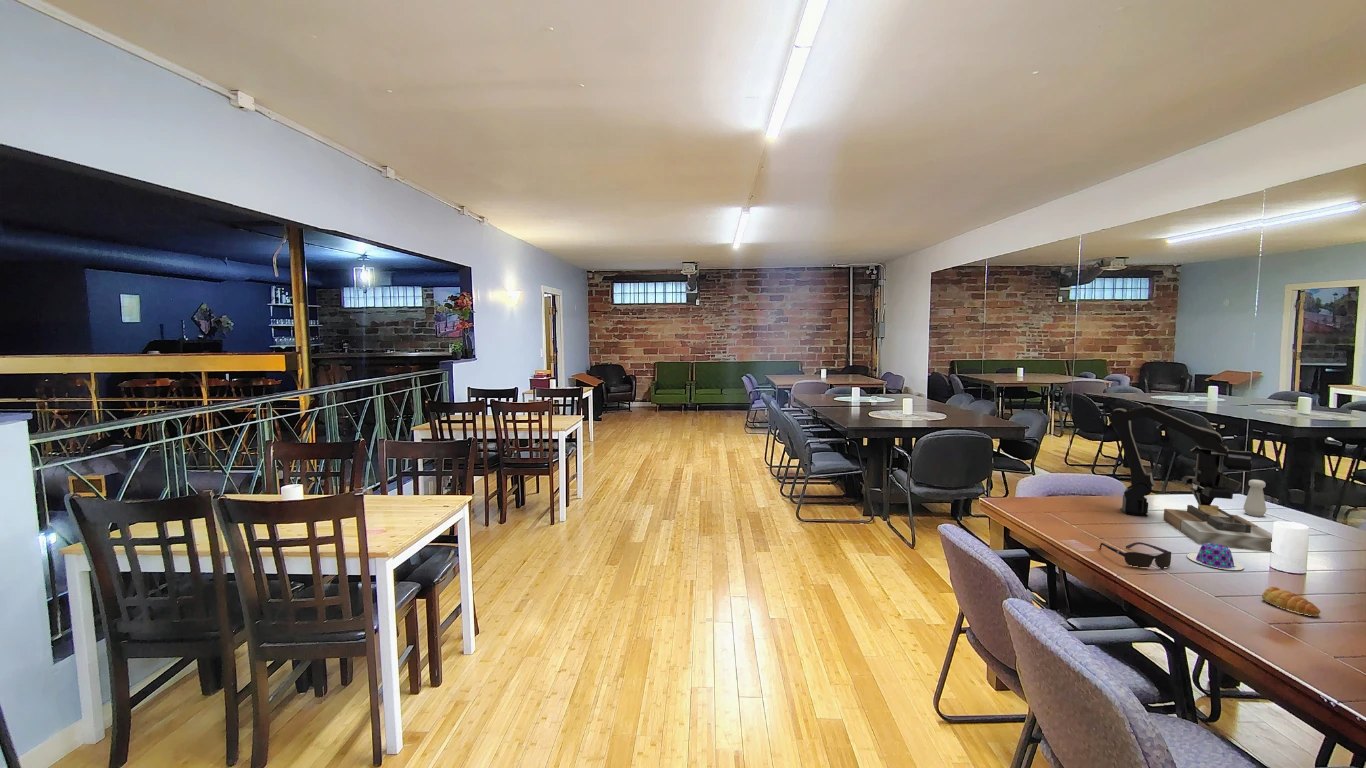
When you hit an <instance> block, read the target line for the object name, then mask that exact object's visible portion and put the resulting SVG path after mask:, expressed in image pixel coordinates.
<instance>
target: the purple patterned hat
mask: <svg viewBox="0 0 1366 768" xmlns="http://www.w3.org/2000/svg"><path fill="white" fill-rule="evenodd" d="M1232 554H1233V553H1232V551H1231V549H1230V547H1226V546H1222V545H1219V544H1213V543H1204V544H1201V546H1200V548H1199V550H1198V552H1190V553H1189V552H1188V553H1187V554H1186V557H1187V558H1188V559H1190V561H1193V562H1195V563H1197V564H1200V565H1204V566H1206V567H1211V568H1216V569H1220V570H1227V571H1240V570H1244V569H1245V565H1244V564H1242V563H1240V562H1238V561H1237V560H1235V559H1234V558H1233V555H1232ZM1196 560H1197V561H1196ZM1199 561H1200V562H1199ZM1234 564H1235V565H1236V566H1237V567H1236V568H1235V566H1234ZM1210 565H1211V566H1210ZM1218 567H1219V568H1218ZM1228 568H1229V569H1228ZM1230 568H1231V569H1230ZM1233 568H1235V569H1233Z"/></svg>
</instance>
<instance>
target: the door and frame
mask: <svg viewBox="0 0 1366 768" xmlns="http://www.w3.org/2000/svg"><path fill="white" fill-rule="evenodd" d="M1219 512H1221V513H1223V514H1225V515H1227V516H1228V517H1230V523H1229V522H1221V521H1219V520H1217V519H1216V518H1214V517H1211V516H1208V519H1207V514H1206V513H1205V512H1203V511H1201V510H1199V509H1198V507H1195V506H1194V505H1192V504H1187V508H1186V510H1183V509H1182V510H1181V509H1170V508H1164V511H1163V521H1165V522H1167V523H1168V524H1169V525H1171V526H1172V527H1173V528H1175V529H1176V530H1178V531H1180V532H1181V533H1183V534H1184V535H1185V536H1187V537H1189V538H1190V539H1191V540H1192V541H1194V542H1196V543H1197V544H1199V545H1202V544H1204V543H1213V544H1219V545H1222V546H1226V547H1227V548H1233V547H1234V548H1233V549H1235V548H1237V549H1243V548H1245V550H1246V549H1247V550H1252V551H1253V550H1256V551H1261V552H1262V551H1265V552H1271V551H1270V550H1271V542H1272V534H1273V533H1272V532H1270V531H1268V530H1267V529H1265V528H1262V527H1261V526H1258V525H1257V524H1255V523H1253V522H1250V521H1249V520H1247V519H1245V518H1244V517H1242V516H1239V515H1238V514H1230V513H1228V512H1226V511H1225V510H1224V509H1223V510H1222V509H1221V508H1219Z"/></svg>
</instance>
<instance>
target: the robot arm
mask: <svg viewBox="0 0 1366 768" xmlns="http://www.w3.org/2000/svg"><path fill="white" fill-rule="evenodd" d="M1143 418H1147V419H1150V420H1152V421H1155V422H1156V423H1159V424H1161V425H1163V426H1165V427H1167V428H1170V429H1172V430H1175V431H1177V432H1179V433H1181V434H1183V435H1184V436H1186V437H1188V438H1189V439H1191V440H1192V442H1193V441H1194V442H1195V443H1196V444H1198V445H1199V446H1198V445H1196V446H1194V447H1193V448H1192V449H1190V451H1189V452H1190V453H1191V454H1196V464H1195V465H1196V466H1195V467H1193V468H1192V469H1193V472H1195V476H1194V475H1193V476H1192V475H1184V476H1183V477H1181V484H1183V485H1185V486H1188V485H1192V487H1190V488H1189V490H1190V491H1191V493H1192V495H1193V496H1194V498H1195V500H1196V502H1197V505H1198V504H1205V505H1212V502H1213V501H1214V499H1224V500H1225V499H1227V500H1232V499H1234V493H1233V492H1232V491H1231V490H1233V491H1235V492H1238V490H1239V489H1240V487H1241V485H1242V482H1240V481H1237V480H1235V479H1232V478H1231V475H1229V474H1227V473H1224V472H1222V471H1220V465H1221V457H1222V467H1225V468H1226V470H1229V471H1237V472H1244V473H1245V472H1246V473H1252V472H1251V471H1252V465H1253V464H1252V463H1253V462H1252V451H1248V450H1247V451H1246V450H1232V449H1229V448H1228V446H1226V445H1225V444H1224V442H1223V440H1222V439H1223V438H1222V436H1221V434H1220V433H1219V432H1217V431H1215V430H1213V429H1209V428H1206V427H1203V426H1197V425H1194V424H1191V423H1188V422H1187V421H1184V420H1183V419H1180V418H1177V417H1175V416H1174V415H1170V414H1169V413H1166V412H1165V411H1162V410H1160V409H1157V408H1155V407H1154V405H1149V404H1148V405H1144V406H1140V407H1139V406H1138V407H1134V408H1128V409H1126V408H1122V407H1121V408H1120V407H1119V408H1115V409H1113V410H1112V411H1111V412H1110V413H1109V415H1108V421H1109V422H1110V424H1111V426H1112V427H1113V429H1114V430H1115V432H1116V433H1117V435H1118V437H1119V440H1120V444H1121V447H1122V449H1123V453H1124V455H1125V458H1126V461H1127V464H1128V467H1129V468H1128V469H1129V470H1130V484H1131V485H1129V486H1127V487H1126V488H1125V489H1124V491H1123V495H1122V503H1121V504H1122V505H1121V507H1120V508H1119V511H1121V512H1123V513H1124V514H1125V515H1129V516H1141V517H1149V514H1148V513H1149V511H1148V510H1149V502H1148V499H1147V498H1146V497H1145V496H1149V495H1150V494H1151V493H1152V491H1153V490H1154V487H1155V484H1156V481H1155V480H1154V478H1153V472H1151V471H1149V472H1147V471H1146V469H1145V468H1144V466H1143V462H1142V459H1141V456H1140V453H1139V451H1138V447H1137V445H1136V441H1135V438H1134V435H1133V432H1132V421H1135V420H1140V419H1143ZM1200 446H1201V447H1202V448H1201V447H1200ZM1212 450H1213V451H1212ZM1214 451H1215V452H1214ZM1225 487H1226V488H1225ZM1227 488H1228V489H1227ZM1230 489H1231V490H1230Z"/></svg>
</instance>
